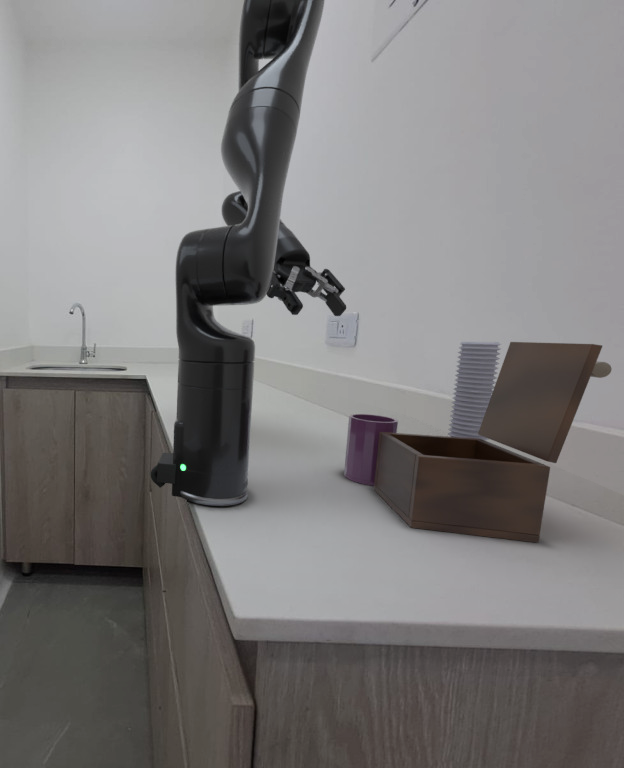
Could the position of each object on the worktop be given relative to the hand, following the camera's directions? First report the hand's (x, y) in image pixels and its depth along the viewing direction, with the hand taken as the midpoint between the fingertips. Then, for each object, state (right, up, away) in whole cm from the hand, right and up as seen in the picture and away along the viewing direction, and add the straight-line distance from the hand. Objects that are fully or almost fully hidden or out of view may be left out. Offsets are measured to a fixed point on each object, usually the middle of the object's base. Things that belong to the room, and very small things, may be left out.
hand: (320, 311), depth 66 cm
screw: (+14, -26, -10) cm, 32 cm away
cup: (+3, -26, -8) cm, 27 cm away
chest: (+5, -27, -19) cm, 33 cm away
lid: (+11, -13, -22) cm, 28 cm away
